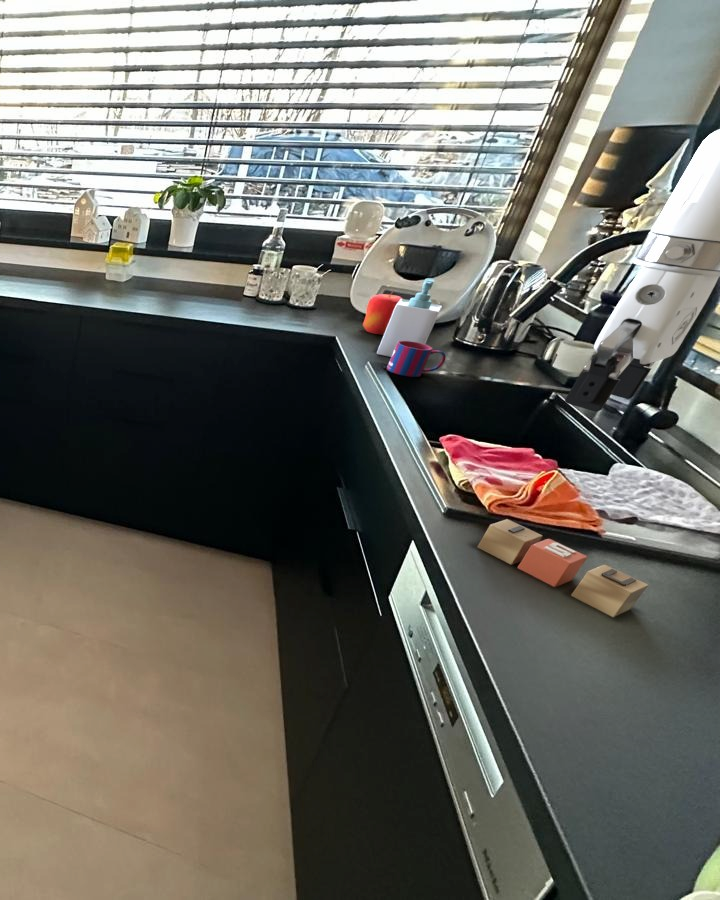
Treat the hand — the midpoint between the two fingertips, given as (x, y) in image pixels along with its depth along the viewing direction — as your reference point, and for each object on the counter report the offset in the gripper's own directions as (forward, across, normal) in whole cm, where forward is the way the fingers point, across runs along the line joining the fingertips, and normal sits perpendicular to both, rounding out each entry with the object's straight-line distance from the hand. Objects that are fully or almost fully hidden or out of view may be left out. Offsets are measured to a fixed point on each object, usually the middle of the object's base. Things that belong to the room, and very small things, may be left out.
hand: (598, 400), depth 75 cm
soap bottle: (+22, +76, +53) cm, 96 cm away
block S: (+21, -5, -5) cm, 23 cm away
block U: (+21, -5, -11) cm, 25 cm away
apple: (+22, +92, +67) cm, 116 cm away
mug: (+22, +63, +43) cm, 80 cm away
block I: (+22, -4, -1) cm, 22 cm away
